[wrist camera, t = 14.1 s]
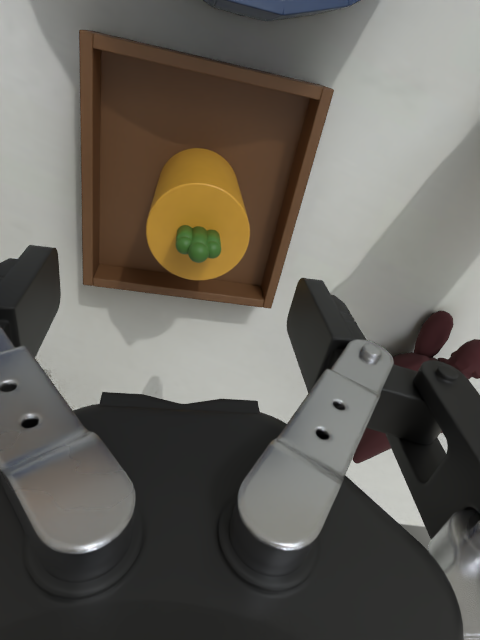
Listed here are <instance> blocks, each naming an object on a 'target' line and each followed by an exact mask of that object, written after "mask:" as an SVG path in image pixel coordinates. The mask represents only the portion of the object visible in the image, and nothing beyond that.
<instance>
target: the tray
mask: <svg viewBox="0 0 480 640" xmlns="http://www.w3.org/2000/svg"><path fill="white" fill-rule="evenodd" d="M79 48H80V115H81V182H82V249H83V285H90V286H98V287H106V288H114V289H121V290H129V291H137V292H145V293H153V294H161V295H169V296H177V297H184V298H192V299H200V300H208V301H216V302H224V303H232V304H240V305H248V306H255V307H264V308H271V307H272V303H273V300H274V296H275V293H276V289H277V286H278V282H279V279H280V275H281V272H282V268H283V265H284V262H285V258H286V255H287V251H288V248H289V244H290V241H291V237H292V234H293V230H294V227H295V223H296V220H297V217H298V213H299V210H300V206H301V203H302V199H303V196H304V192H305V189H306V185H307V182H308V178H309V175H310V171H311V168H312V165H313V161H314V158H315V154H316V151H317V147H318V144H319V140H320V137H321V133H322V130H323V126H324V123H325V120H326V116H327V113H328V109H329V106H330V102H331V99H332V95H333V92H334V90H333V89H331V88H328V87H325V86H322V85H319V84H314V83H310V82H306V81H302V80H297V79H293V78H289V77H285V76H281V75H276V74H272V73H268V72H264V71H259V70H255V69H251V68H247V67H243V66H238V65H234V64H230V63H226V62H221V61H217V60H213V59H209V58H205V57H200V56H196V55H192V54H188V53H183V52H179V51H175V50H171V49H167V48H162V47H158V46H154V45H150V44H145V43H141V42H137V41H133V40H129V39H124V38H120V37H116V36H112V35H107V34H103V33H99V32H95V31H88V30H80V31H79ZM192 148H202V149H207V150H211V151H213V152H215V153H217V154H219V155H220V156H222V157H223V158H224V159H225V160H226V161H227V162H228V163H229V164H230V166H231V167H232V169H233V171H234V173H235V175H236V178H237V181H238V185H239V189H240V192H241V196H242V199H243V203H244V206H245V210H246V214H247V217H248V221H249V226H250V239H249V244H248V247H247V250H246V252H245V254H244V256H243V257H242V259H241V260H240V262H239V263H238V264H237V265H236V266H235V267H234V268H233V269H231V270H230V271H229V272H227V273H225V274H223V275H222V276H219V277H217V278H213V279H209V280H190V279H185V278H182V277H179V276H177V275H174V274H173V273H171V272H169V271H168V270H166V269H165V268H164V267H163V266H162V265H161V264H160V263H159V262H158V261H157V260H156V259H155V257H154V256H153V254H152V252H151V250H150V248H149V246H148V242H147V237H146V223H147V218H148V215H149V211H150V208H151V204H152V201H153V197H154V194H155V190H156V187H157V183H158V180H159V177H160V173H161V171H162V169H163V167H164V166H165V164H166V163H167V162H168V160H169V159H170V158H172V157H173V156H174V155H175V154H177V153H179V152H181V151H183V150H187V149H192Z"/></svg>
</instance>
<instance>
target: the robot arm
mask: <svg viewBox="0 0 480 640" xmlns="http://www.w3.org/2000/svg"><path fill="white" fill-rule="evenodd" d="M60 294H61V292H60V277H59V262H58V253H57V250H56V248H51V247H42V246H34V245H29V246H28V247H27V248H26V250H25V251H24V252H23V254H22V255H21V256H20V257H19V259H11V258H10V259H7V260H5V261H3V262H1V263H0V640H480V395H479V393H478V392H477V391H476V389H475V388H474V387H473V385H472V384H471V383H470V381H469V380H468V379H467V378H466V376H465V375H464V374H463V373H461V372H460V371H459V370H457V369H456V368H454V367H452V366H451V365H448V364H446V363H443V362H440V361H435V360H428V361H425V362H423V363H422V365H421V367H420V368H419V370H418V371H414V370H411V369H408V368H404V367H401V366H398V365H395V364H394V360H393V357H392V355H391V354H390V353H389V352H388V351H387V350H386V349H385V348H383V347H382V346H380V345H378V344H376V343H374V342H371V341H368V340H366V339H365V337H364V335H363V334H362V332H361V330H360V328H359V327H358V325H357V323H356V322H355V321H354V318H353V317H352V315H351V314H350V312H349V310H348V308H347V307H346V305H345V304H344V303H343V302H342V301H341V300H340V299H338V298H337V297H336V296H335V295H331V294H330V293H329V291H328V289H327V287H326V286H325V284H324V282H323V281H322V280H315V279H307V278H301V279H300V280H299V282H298V284H297V287H296V291H295V294H294V297H293V301H292V304H291V307H290V311H289V314H288V318H287V332H288V335H289V338H290V341H291V344H292V346H293V349H294V352H295V355H296V358H297V361H298V364H299V367H300V370H301V373H302V376H303V379H304V381H305V384H306V387H307V390H308V393H309V394H308V395H307V397H306V398H305V399H304V401H303V402H302V404H301V405H300V407H299V408H298V409H297V411H296V412H295V414H294V415H293V416H292V418H291V419H290V421H289V422H288V424H286V423H284V422H282V421H281V420H279V419H276V418H274V417H272V416H270V415H267V414H264V413H260V412H259V407H258V401H250V400H232V399H217V400H210V401H203V402H196V403H189V404H179V403H175V402H171V401H167V400H163V399H159V398H155V397H151V396H147V395H143V394H125V393H108V392H102V396H101V400H100V404H96V405H91V406H87V407H83V408H80V409H77V410H74V411H72V409H71V408H70V407H69V405H68V404H67V402H66V401H65V400H64V398H63V397H62V395H61V394H60V393H59V391H58V390H57V388H56V387H55V386H54V384H53V383H52V382H51V380H50V379H49V377H48V376H47V375H46V373H45V372H44V370H43V369H42V368H41V366H40V365H39V364H38V362H37V361H36V359H35V356H36V354H37V352H38V350H39V348H40V346H41V344H42V342H43V340H44V338H45V336H46V334H47V332H48V330H49V328H50V325H51V323H52V321H53V319H54V317H55V315H56V313H57V311H58V308H59V304H60ZM366 428H369V429H372V430H375V431H378V432H382V433H385V434H386V437H387V439H388V441H389V444H390V446H391V448H392V451H393V453H394V455H395V458H396V460H397V462H398V464H399V467H400V469H401V471H402V474H403V476H404V478H405V481H406V483H407V485H408V487H409V490H410V492H411V494H412V497H413V499H414V501H415V504H416V506H417V508H418V511H419V513H420V515H421V517H422V520H423V522H424V524H425V527H426V529H427V531H428V534H429V536H430V538H431V541H430V543H429V546H428V550H427V549H426V548H425V547H424V546H423V545H422V544H421V543H420V542H418V541H417V540H416V539H415V538H414V537H413V536H412V535H410V534H409V533H408V532H407V531H406V530H405V529H404V528H403V527H402V526H401V525H400V524H399V523H397V522H396V521H395V520H394V519H393V518H392V517H391V516H390V515H389V514H387V513H386V512H385V511H384V510H383V509H382V508H381V507H380V506H379V505H377V504H376V503H375V502H374V501H373V500H372V499H371V498H370V497H369V496H367V495H366V494H365V493H364V492H363V491H362V490H361V489H360V488H359V487H358V486H356V485H355V484H354V483H353V482H352V481H351V480H350V479H349V478H348V477H346V476H345V474H346V471H347V469H348V467H349V465H350V462H351V460H352V458H353V456H354V453H355V451H356V449H357V447H358V445H359V442H360V440H361V438H362V436H363V433H364V431H365V429H366ZM441 431H442V432H443V434H444V435H445V437H446V440H447V444H448V450H447V454H446V453H445V451H444V449H443V447H442V445H441V444H440V442H439V440H438V438H437V437H438V435H439V434H440V432H441Z"/></svg>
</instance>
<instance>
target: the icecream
mask: <svg viewBox="0 0 480 640" xmlns="http://www.w3.org/2000/svg"><path fill="white" fill-rule="evenodd" d="M452 327H453V318H452V316H451V315H450V314H449V313H447V312H445V311H438V312H435V313H433V314H432V315H431V316H430V317H429V318H428V319H427V320H426V322H425V323H424V324H423V325H422V328H421V330H420V332H419V335H418V337H417V340H416V344H415V350H414V353H413V352H411V353H403V354H398V355H396V356H394V357H393V360H394V364H395V365H398V366H401V367H404V368H408V369H411V370H414V371H418V370H419V368H420V367H421V365H422V363H423V362H425V361H428V360H435V361H440V362H443V363H446V364H448V365H451V366H452V367H454V368H456V369H457V370H459V371H460V372H461V373H463V374H464V375H465V376H466V378H467V379H470V378H471V377H474V378H476V379H478V378H480V340H475V339H474V340H471V341H469V342H466V343H465V344H464V345H462V346H461V347H460V348H459V349H458V350H457V351H455V352H453V353H452V354H451V357H450V358H449V359H448V360H447V359H445V358H438V360H437V359H435V358H433V356H435V355H436V354H437V353H438V352H439V351H440V349H441V348H442V347H443V345H444V344H445V343H446V341H447V340H448V338H449V335H450V333H451V330H452ZM440 433H443V432H442V431H441V432H440ZM388 449H391V446H390V444H389V441H388V439H387V437H386V434H385V433H382V432H378V431H375V430H372V429H369V428H366V429H365V431H364V433H363V436H362V438H361V440H360V442H359V445H358V447H357V449H356V451H355V453H354V457H353V461H354V462H355V463H360V462H363V461H365V460H367V459H369V458H371V457H374V456H376V455H378V454H380V453H382V452H384V451H386V450H388Z"/></svg>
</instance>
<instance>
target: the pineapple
mask: <svg viewBox="0 0 480 640" xmlns="http://www.w3.org/2000/svg"><path fill="white" fill-rule="evenodd" d="M146 237H147V242H148V246H149V248H150V250H151V252H152V254H153V256H154V257H155V259H156V260H157V261H158V262H159V263H160V264H161V265H162V266H163V267H164V268H165V269H166V270H168V271H169V272H171V273H173V274H174V275H177V276H179V277H182V278H185V279H190V280H209V279H213V278H217V277H219V276H222V275H223V274H225V273H227V272H229V271H230V270H231V269H233V268H234V267H235V266H236V265H237V264H238V263H239V262H240V260H241V259H242V257H243V256H244V254H245V252H246V250H247V247H248V244H249V239H250V226H249V221H248V217H247V214H246V210H245V206H244V203H243V199H242V196H241V192H240V189H239V185H238V181H237V178H236V175H235V173H234V171H233V169H232V167H231V166H230V164H229V163H228V162H227V161H226V160H225V159H224V158H223V157H222V156H220V155H219V154H217V153H215V152H213V151H211V150H207V149H202V148H192V149H187V150H183V151H181V152H179V153H177V154H175V155H174V156H173V157H172V158H170V159H169V160H168V162H167V163H166V164H165V166H164V167H163V169H162V171H161V173H160V177H159V180H158V183H157V187H156V190H155V194H154V197H153V201H152V204H151V208H150V211H149V215H148V218H147V223H146Z"/></svg>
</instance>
